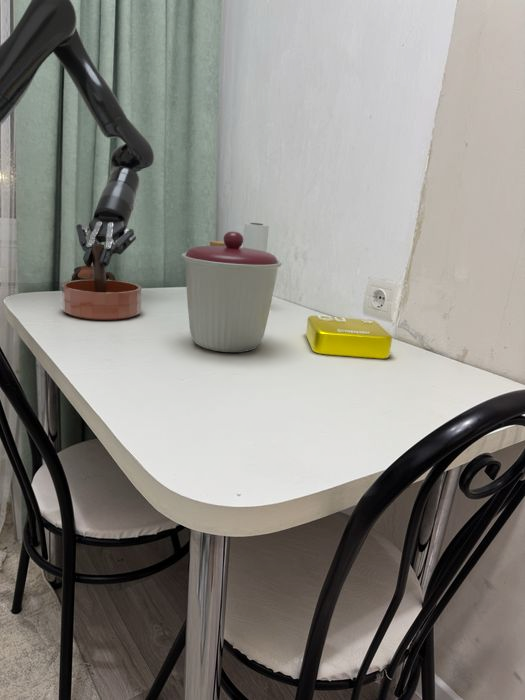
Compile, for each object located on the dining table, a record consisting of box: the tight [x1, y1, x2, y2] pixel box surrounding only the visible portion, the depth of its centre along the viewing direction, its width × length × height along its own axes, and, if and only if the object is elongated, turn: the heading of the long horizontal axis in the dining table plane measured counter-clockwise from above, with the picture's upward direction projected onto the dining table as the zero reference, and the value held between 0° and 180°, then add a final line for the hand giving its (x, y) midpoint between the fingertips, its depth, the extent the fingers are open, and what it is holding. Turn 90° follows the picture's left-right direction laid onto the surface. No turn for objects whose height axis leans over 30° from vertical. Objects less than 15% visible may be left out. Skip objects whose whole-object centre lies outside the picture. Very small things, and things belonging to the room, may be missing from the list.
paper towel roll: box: [242, 222, 270, 252], centre depth 130 cm, size 7×6×21 cm
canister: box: [180, 231, 283, 353], centre depth 93 cm, size 18×18×21 cm
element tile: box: [305, 314, 393, 360], centre depth 102 cm, size 15×15×5 cm
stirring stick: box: [92, 243, 107, 292], centre depth 111 cm, size 5×5×14 cm
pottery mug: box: [70, 265, 116, 281], centre depth 131 cm, size 12×10×8 cm
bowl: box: [61, 279, 142, 321], centre depth 112 cm, size 16×16×6 cm
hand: (94, 264), depth 108 cm, fingers closed on stirring stick, 2 cm apart
